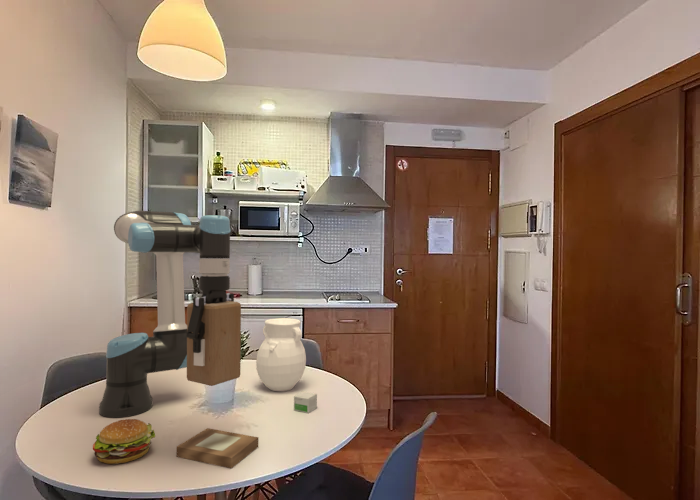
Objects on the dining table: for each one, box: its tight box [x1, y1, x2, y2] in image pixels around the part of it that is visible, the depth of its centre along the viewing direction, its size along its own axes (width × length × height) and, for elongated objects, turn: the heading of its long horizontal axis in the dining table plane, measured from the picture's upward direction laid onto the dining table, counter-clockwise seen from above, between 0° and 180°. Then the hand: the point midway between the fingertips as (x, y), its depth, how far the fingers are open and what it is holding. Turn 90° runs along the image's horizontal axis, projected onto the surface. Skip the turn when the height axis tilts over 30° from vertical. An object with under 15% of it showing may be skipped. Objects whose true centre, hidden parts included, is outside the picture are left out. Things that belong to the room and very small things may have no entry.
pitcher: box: [255, 317, 307, 392], centre depth 164 cm, size 19×18×25 cm
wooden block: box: [186, 301, 242, 387], centre depth 113 cm, size 10×10×20 cm
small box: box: [293, 390, 318, 414], centre depth 142 cm, size 6×6×5 cm
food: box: [92, 418, 156, 465], centre depth 110 cm, size 14×14×8 cm
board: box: [175, 427, 259, 469], centre depth 111 cm, size 16×12×3 cm
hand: (214, 360), depth 113 cm, fingers closed on wooden block, 11 cm apart
